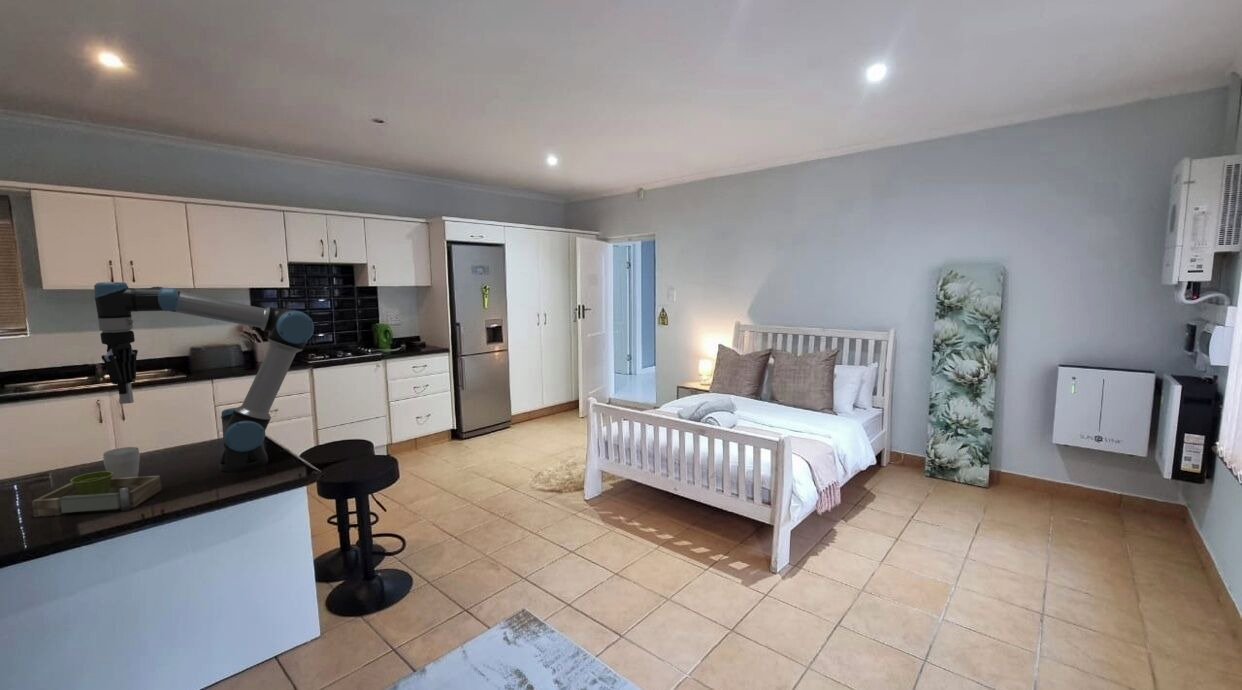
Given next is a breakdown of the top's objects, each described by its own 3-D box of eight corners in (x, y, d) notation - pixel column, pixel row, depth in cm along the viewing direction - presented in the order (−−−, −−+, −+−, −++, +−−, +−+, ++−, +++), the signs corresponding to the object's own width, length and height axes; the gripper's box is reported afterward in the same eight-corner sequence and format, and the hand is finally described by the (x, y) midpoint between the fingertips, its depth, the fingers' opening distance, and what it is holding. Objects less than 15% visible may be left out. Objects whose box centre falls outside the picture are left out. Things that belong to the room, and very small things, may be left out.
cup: (119, 490, 169) (115, 456, 168) (98, 487, 171) (95, 454, 170) (149, 480, 178) (146, 448, 177) (129, 477, 180) (126, 445, 178)
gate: (121, 506, 156) (119, 492, 156) (117, 508, 155) (116, 494, 154) (65, 510, 152) (63, 496, 152) (61, 513, 151) (59, 498, 151)
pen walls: (162, 489, 171) (161, 475, 171) (129, 510, 156) (127, 495, 155) (77, 494, 165) (75, 480, 165) (33, 517, 150) (31, 501, 149)
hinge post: (132, 508, 157) (129, 486, 156) (127, 510, 155) (125, 489, 154) (124, 508, 157) (122, 487, 156) (119, 511, 155) (117, 489, 154)
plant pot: (93, 496, 165) (90, 471, 164) (123, 495, 165) (121, 470, 164) (64, 508, 156) (60, 482, 154) (96, 508, 156) (93, 482, 155)
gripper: (117, 332, 153) (127, 407, 156) (144, 328, 166) (153, 397, 169) (86, 333, 151) (98, 409, 154) (116, 329, 164) (126, 398, 167)
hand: (127, 402), depth 162 cm, fingers closed
